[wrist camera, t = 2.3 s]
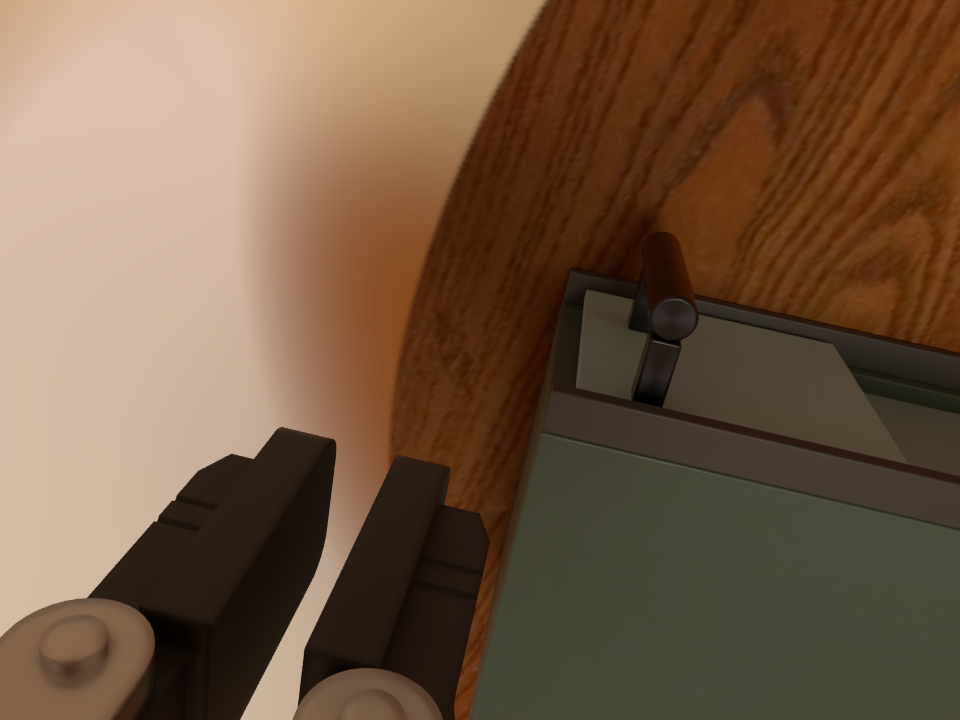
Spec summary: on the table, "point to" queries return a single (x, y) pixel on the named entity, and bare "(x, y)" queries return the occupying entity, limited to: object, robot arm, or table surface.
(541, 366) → the table surface
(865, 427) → the door
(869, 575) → the cabinet
